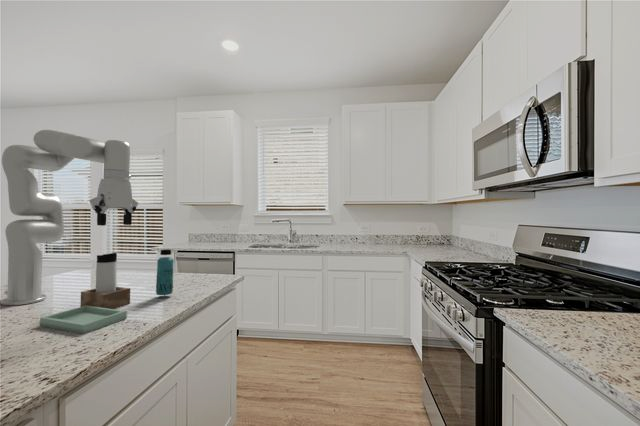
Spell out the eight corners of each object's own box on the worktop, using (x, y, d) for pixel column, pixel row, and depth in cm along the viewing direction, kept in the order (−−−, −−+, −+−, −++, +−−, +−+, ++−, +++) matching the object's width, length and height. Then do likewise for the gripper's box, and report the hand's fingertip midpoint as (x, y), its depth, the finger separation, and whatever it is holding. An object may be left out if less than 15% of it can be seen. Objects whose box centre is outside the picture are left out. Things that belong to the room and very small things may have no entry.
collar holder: (80, 308, 112) (80, 291, 112) (107, 300, 122) (107, 285, 122) (104, 311, 109) (104, 294, 109) (129, 303, 119) (130, 288, 119)
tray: (39, 326, 94) (40, 317, 94) (86, 312, 107) (86, 305, 107) (83, 333, 89) (83, 325, 89) (126, 318, 102) (126, 311, 102)
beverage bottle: (152, 297, 128) (153, 249, 128) (165, 294, 134) (166, 248, 134) (163, 299, 125) (164, 250, 125) (176, 295, 131) (177, 249, 132)
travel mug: (105, 309, 111) (107, 254, 112) (90, 307, 113) (92, 253, 113) (120, 304, 118) (121, 252, 118) (105, 303, 119) (107, 251, 119)
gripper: (130, 179, 117) (128, 224, 117) (83, 173, 101) (81, 225, 101) (145, 179, 115) (144, 224, 115) (100, 172, 98) (98, 226, 98)
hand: (114, 225), depth 108 cm, fingers open, 9 cm apart
